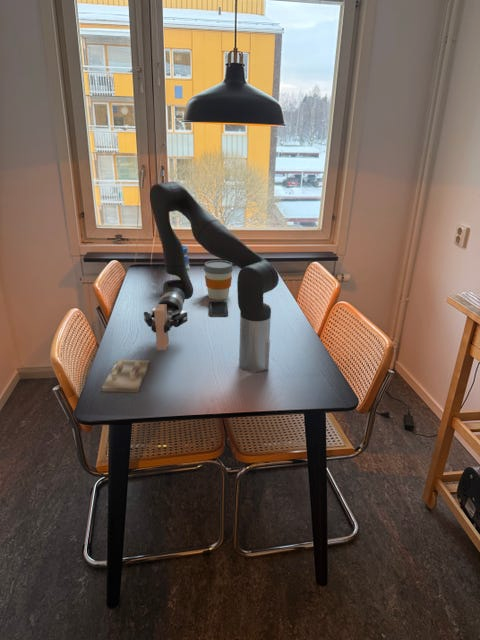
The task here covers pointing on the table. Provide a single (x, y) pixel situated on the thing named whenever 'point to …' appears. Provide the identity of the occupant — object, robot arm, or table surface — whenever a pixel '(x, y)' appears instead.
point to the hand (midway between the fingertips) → (159, 329)
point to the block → (161, 326)
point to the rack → (126, 376)
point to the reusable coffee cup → (218, 278)
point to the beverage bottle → (185, 264)
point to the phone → (218, 309)
